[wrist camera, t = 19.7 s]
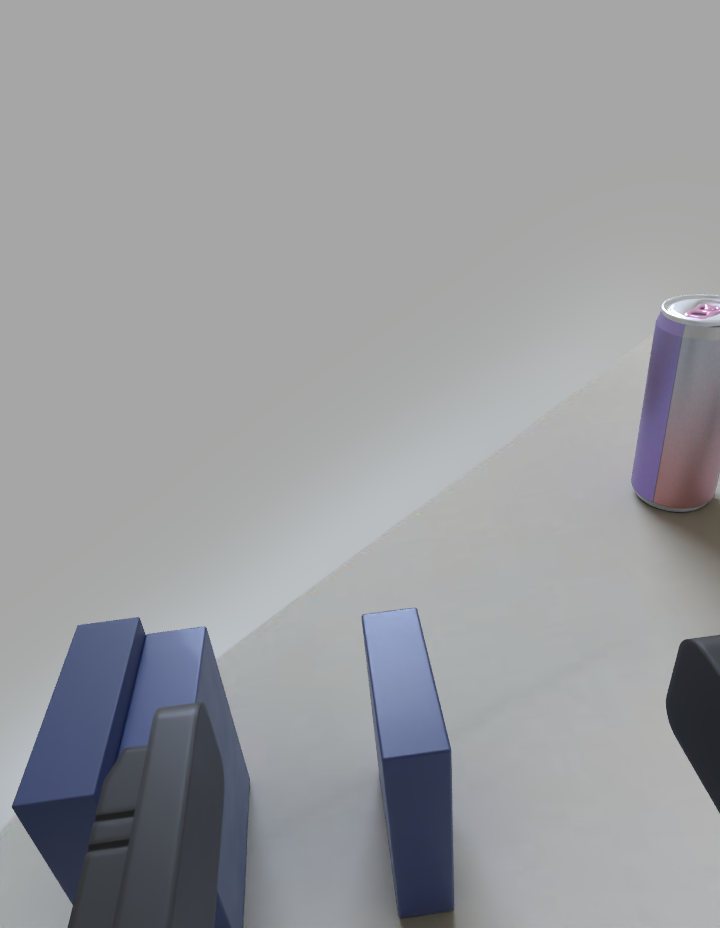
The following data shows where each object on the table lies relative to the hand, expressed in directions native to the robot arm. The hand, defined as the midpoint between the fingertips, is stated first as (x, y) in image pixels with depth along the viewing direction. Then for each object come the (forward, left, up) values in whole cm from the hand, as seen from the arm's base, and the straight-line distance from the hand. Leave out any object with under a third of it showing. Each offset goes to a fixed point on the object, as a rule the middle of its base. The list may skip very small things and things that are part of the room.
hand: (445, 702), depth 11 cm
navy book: (+9, +3, -22) cm, 24 cm away
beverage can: (+40, -12, -22) cm, 47 cm away
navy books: (+6, +13, -22) cm, 26 cm away
